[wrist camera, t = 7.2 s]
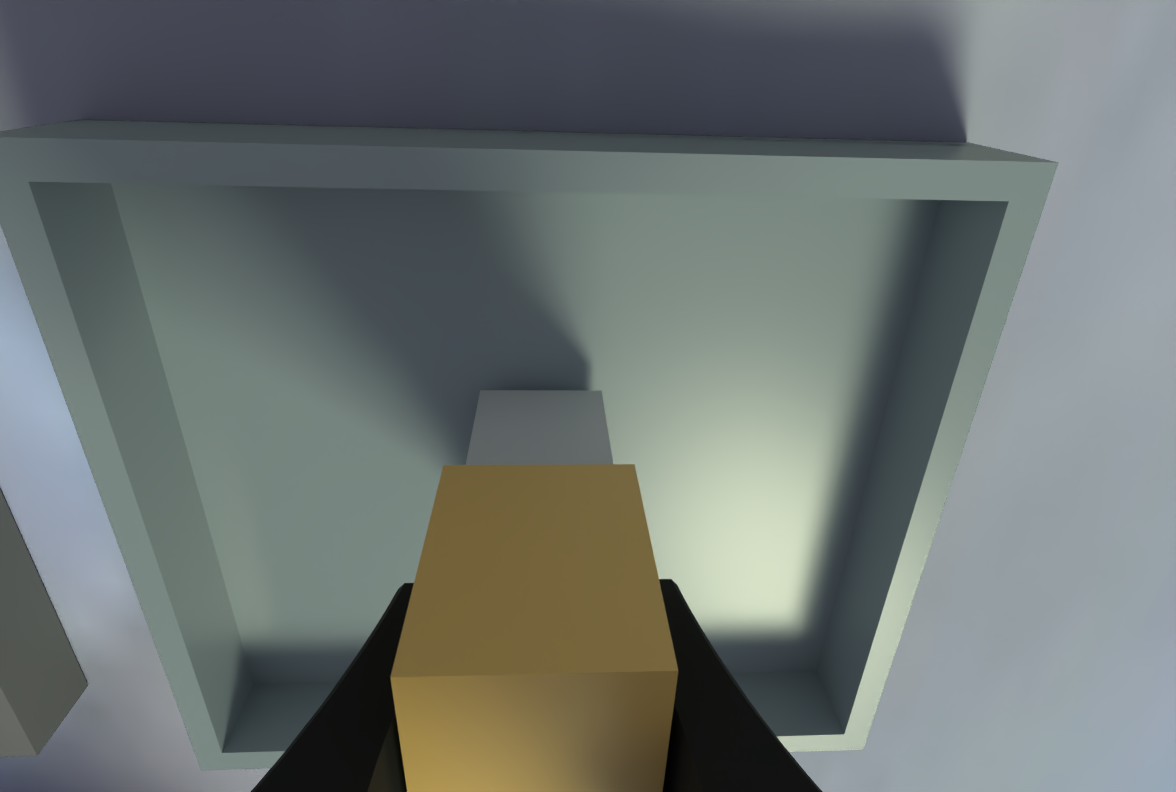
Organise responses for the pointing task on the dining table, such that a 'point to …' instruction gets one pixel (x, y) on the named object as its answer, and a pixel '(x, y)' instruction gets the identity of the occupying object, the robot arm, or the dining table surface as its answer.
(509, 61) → the dining table surface
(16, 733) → the fuse holder
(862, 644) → the parts tray
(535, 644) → the block
